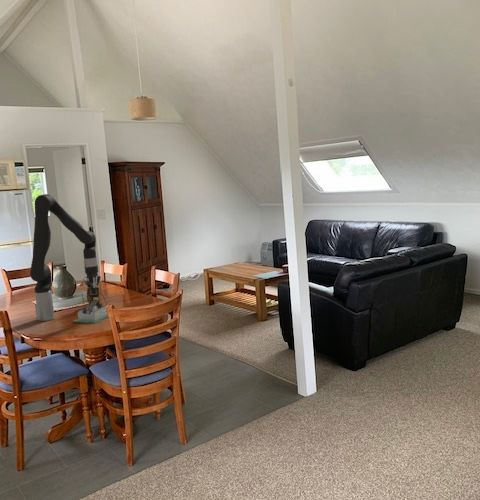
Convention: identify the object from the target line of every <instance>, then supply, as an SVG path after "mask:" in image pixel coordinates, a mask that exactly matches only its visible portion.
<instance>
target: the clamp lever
mask: <svg viewBox="0 0 480 500" xmlns="http://www.w3.org/2000/svg"><path fill="white" fill-rule="evenodd" d="M98 300H99V298H96V297H94V298H93V301H92V302H91V304H90V305H89V304H88V307H86V308H87V310H86V311H85V313H89V309H90V308H92V309H93V308H94V306H95V305H96V303H97V302H98Z"/></svg>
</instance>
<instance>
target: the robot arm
mask: <svg viewBox="0 0 480 500" xmlns="http://www.w3.org/2000/svg"><path fill="white" fill-rule="evenodd" d="M49 212H50V213H52V214H53V215H54V216H55V217H57V218H58V220H59V221H60V222H61V224H62V225H63V226H64V227H65V228H66V229H67V230H68V231H70V232H71V233H72V234H73V235H74V237H76V238H77V240H79V242H80V243H82V244H84V248H83V250H82V251H83V267H84V272H85V273H84V274H85V275H86V278H85V279H84V280H83V283H84V284H85V285H86V287H89V288H91V291H92V294H96V292H97V291H96V287H97V286H99V285H100V282H101V277H102V276H100V275H99V274H98V273H99V265H98V259H97V252H96V248H97V247H96V245H97V244H96V243H97V240H96V235H95V233H94V232H93V231H90V230H86V229H84V226H83V224H82V223H80V222H79V221H78V220H77V219H76V218H74V217H73V216H72V215H71V214H70V213H69V212H67V211H66V210H65V208H64V207H63V206H61V205H60V204H59V203H58V201H57V200H56V198H54V197H53V196H52V195H51V194H48V193H47V194H45V193H44V194H40V195H37V196H36V197H35V199H34V229H33V231H34V232H33V239H32V240H33V245H32V246H33V247H32V259H31V264H30V272H29V276H30V278H31V280H33V281H34V282H36V285H35V287H34V297H35V305H34V306H35V315H36V320H37V321H40V322H47V321H51V320H53V319H55V311H54V303H53V294H52V285H53V277H52V271H51V270H52V269H51V268H50V266H49V265H48V264H46V263H45V262H46V261H45V260H46V256H47V254H48V251H49V249H50V246H51V239H52V236H51V234H52V233H51V227H50V225H49Z"/></svg>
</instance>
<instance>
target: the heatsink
mask: <svg viewBox="0 0 480 500" xmlns="http://www.w3.org/2000/svg"><path fill="white" fill-rule="evenodd" d="M102 306H103V307H102ZM106 307H107V306H105V305H103V303H101V304H98V306H94V308H93V309H92V308H90V309H89V313H85V311H86V310H87V308H88V307H82V309H81V310H79V311H78V312H77V317H78V318H77V319H74V320H72V322H73V323H81V324H83V323H84V324H93V323H96V324H98V323H100V322H102V321H104V320H106V319H108V318H109V317H108V316H107V312H106ZM105 318H106V319H105ZM103 319H104V320H103ZM101 320H102V321H101Z"/></svg>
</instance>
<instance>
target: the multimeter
mask: <svg viewBox="0 0 480 500" xmlns="http://www.w3.org/2000/svg"><path fill="white" fill-rule="evenodd" d="M86 279H87V276H85V277H84V278H83V280H82V283H81V285H83V283H84V281H85V280H86ZM101 283H102V282H101V281H99V285H97V287H96V291H97V292H96V294H92V291H91V288H89V287H88V286H86V299H87V302H88V306H89V305H90V304H91V302H92V301H93V298H94V297H96V298H99V300H98V302H97V303H96V305H95V306H96V307H98V304H102V303H101V296H102V298H103V299H104V302H105V303H106V304H105V305H102V307H104V306H105V307H107V305H108V304H107V301H106V300H105V299H106V298H105V297H104V295H103V293H102V291H101V289H102V288H101ZM83 295H84V294H81V296H82V298H84V296H83ZM82 301H83V303H85V300H84V299H82Z"/></svg>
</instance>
